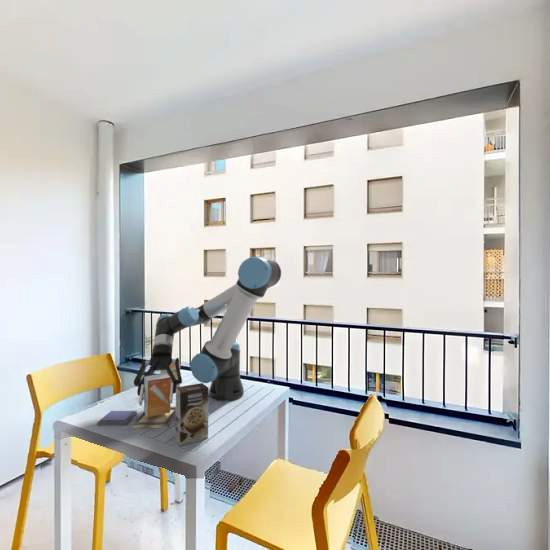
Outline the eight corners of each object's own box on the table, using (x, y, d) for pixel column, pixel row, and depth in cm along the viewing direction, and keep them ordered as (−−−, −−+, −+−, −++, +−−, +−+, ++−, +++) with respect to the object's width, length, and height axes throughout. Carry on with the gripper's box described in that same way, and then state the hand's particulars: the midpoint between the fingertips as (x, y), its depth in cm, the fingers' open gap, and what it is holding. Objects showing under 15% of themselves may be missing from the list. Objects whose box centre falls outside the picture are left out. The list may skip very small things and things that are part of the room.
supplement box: (167, 392, 142) (167, 363, 142) (159, 390, 144) (159, 362, 144) (180, 387, 149) (180, 359, 149) (172, 385, 151) (173, 358, 151)
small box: (147, 418, 110) (147, 380, 110) (143, 411, 115) (143, 376, 115) (170, 412, 114) (171, 376, 115) (166, 406, 120) (166, 372, 120)
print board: (178, 410, 122) (179, 406, 122) (167, 427, 108) (167, 423, 108) (147, 411, 121) (147, 406, 121) (131, 428, 107) (131, 423, 107)
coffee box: (180, 446, 96) (180, 392, 96) (174, 437, 101) (174, 386, 101) (209, 438, 100) (209, 387, 101) (202, 430, 106) (202, 382, 106)
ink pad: (137, 414, 119) (137, 410, 119) (126, 424, 110) (126, 420, 110) (110, 414, 119) (110, 410, 119) (97, 425, 110) (97, 420, 110)
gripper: (191, 352, 132) (188, 404, 116) (135, 354, 128) (123, 409, 112) (190, 342, 127) (187, 395, 111) (131, 344, 123) (119, 400, 107)
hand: (155, 402), depth 112 cm, fingers closed on small box, 9 cm apart
